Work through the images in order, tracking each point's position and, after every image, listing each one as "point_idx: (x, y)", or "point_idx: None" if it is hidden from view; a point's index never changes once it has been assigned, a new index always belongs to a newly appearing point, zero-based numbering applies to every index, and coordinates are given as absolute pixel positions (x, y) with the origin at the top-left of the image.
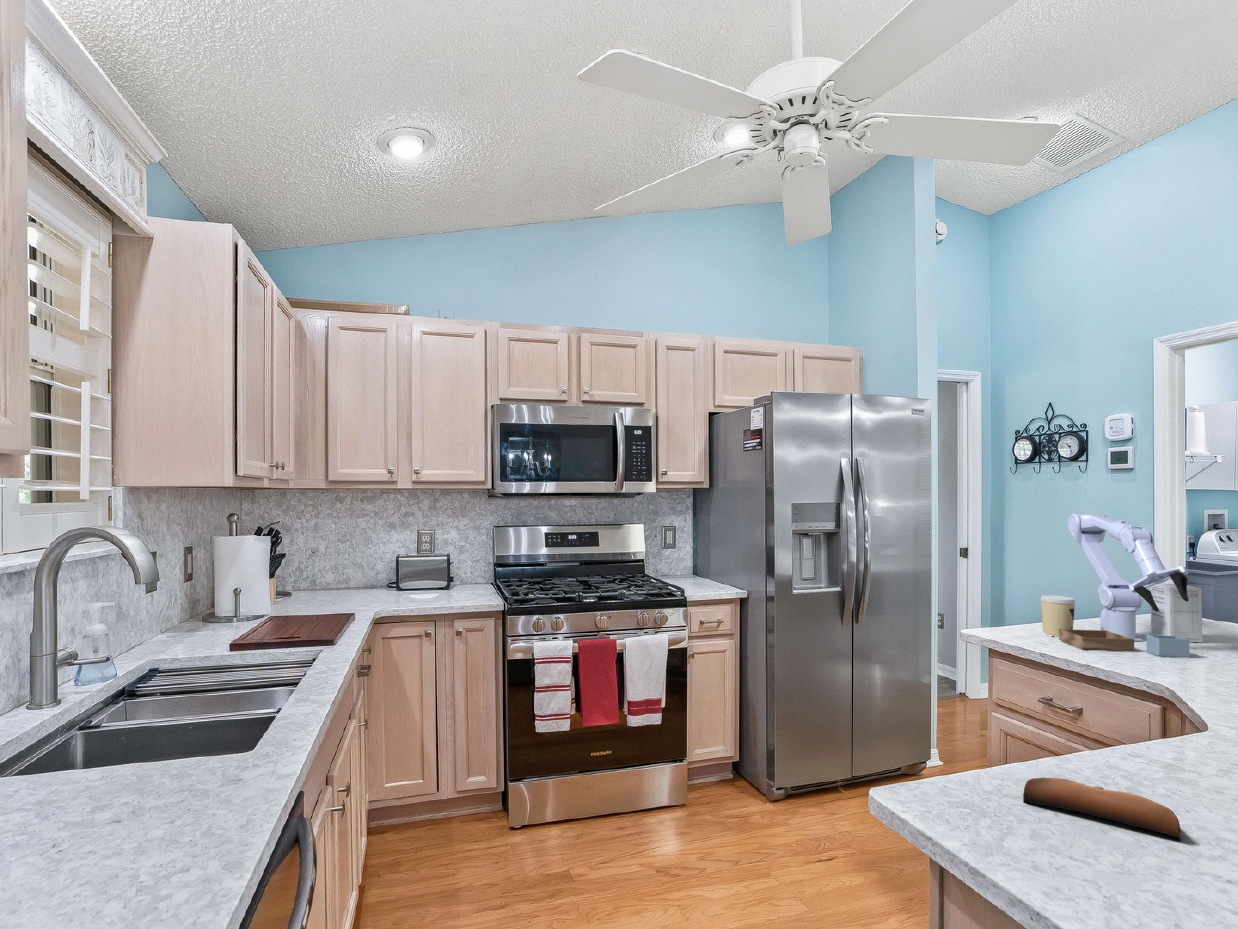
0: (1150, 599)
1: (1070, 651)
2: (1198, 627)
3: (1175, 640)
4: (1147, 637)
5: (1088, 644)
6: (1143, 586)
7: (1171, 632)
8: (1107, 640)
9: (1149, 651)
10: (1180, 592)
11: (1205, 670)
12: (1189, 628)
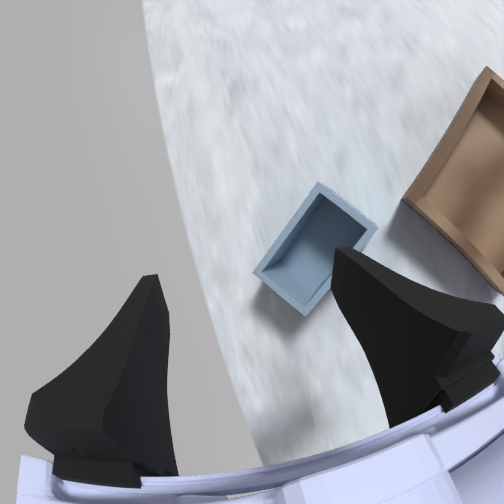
0: (374, 301)
1: (475, 42)
2: None
3: (282, 231)
4: (373, 224)
5: (475, 83)
6: (445, 410)
7: None
8: (455, 122)
9: (364, 215)
10: (139, 298)
11: (201, 129)
12: None
